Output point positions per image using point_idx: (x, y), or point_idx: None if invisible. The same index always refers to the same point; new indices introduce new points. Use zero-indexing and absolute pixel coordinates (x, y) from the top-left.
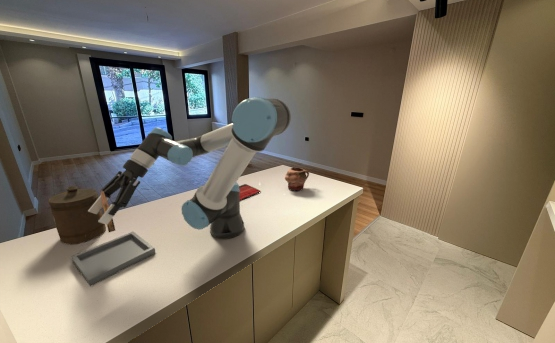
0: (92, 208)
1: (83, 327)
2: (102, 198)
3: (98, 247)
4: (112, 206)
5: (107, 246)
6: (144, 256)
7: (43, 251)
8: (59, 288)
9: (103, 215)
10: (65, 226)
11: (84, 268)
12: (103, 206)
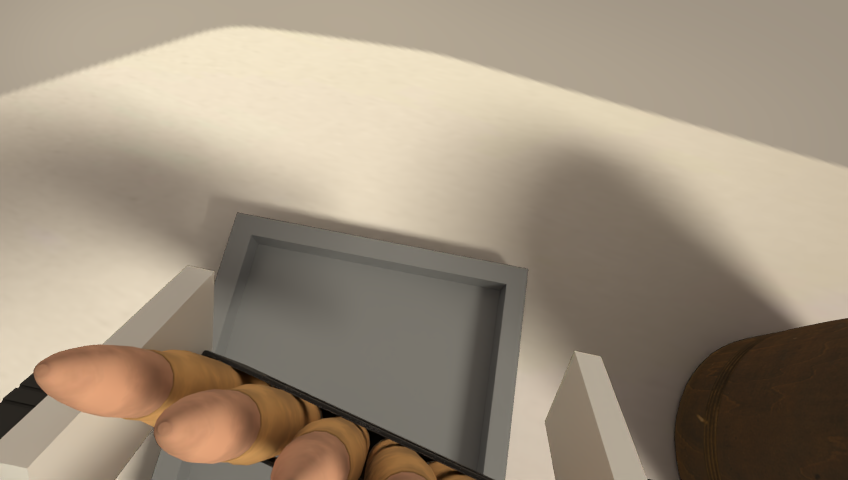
0: (578, 395)
1: (60, 112)
2: (295, 445)
3: (492, 392)
4: (19, 443)
5: (482, 440)
6: None
7: (746, 256)
8: (364, 167)
9: (151, 313)
10: (815, 336)
11: (351, 249)
12: (244, 390)
